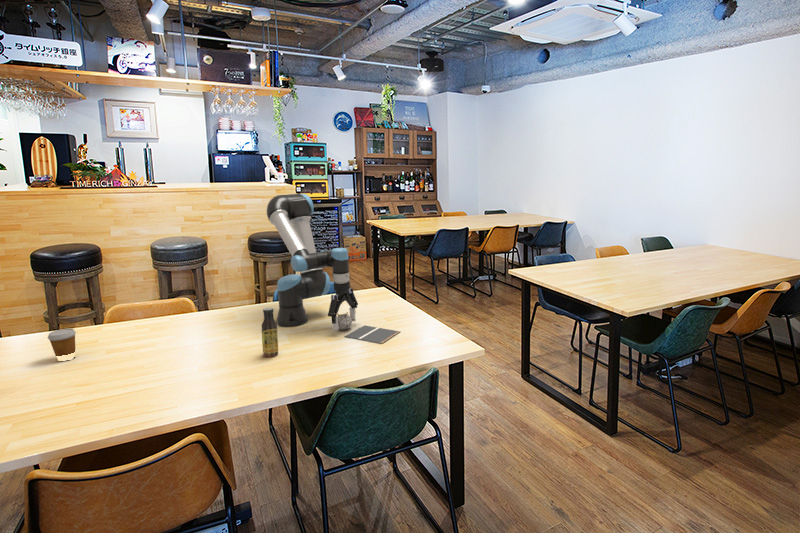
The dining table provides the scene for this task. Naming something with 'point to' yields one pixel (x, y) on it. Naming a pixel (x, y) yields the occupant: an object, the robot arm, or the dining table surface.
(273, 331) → the sauce bottle
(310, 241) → the robot arm
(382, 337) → the lane mat
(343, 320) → the game die
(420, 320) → the dining table surface
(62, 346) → the disposable coffee cup
